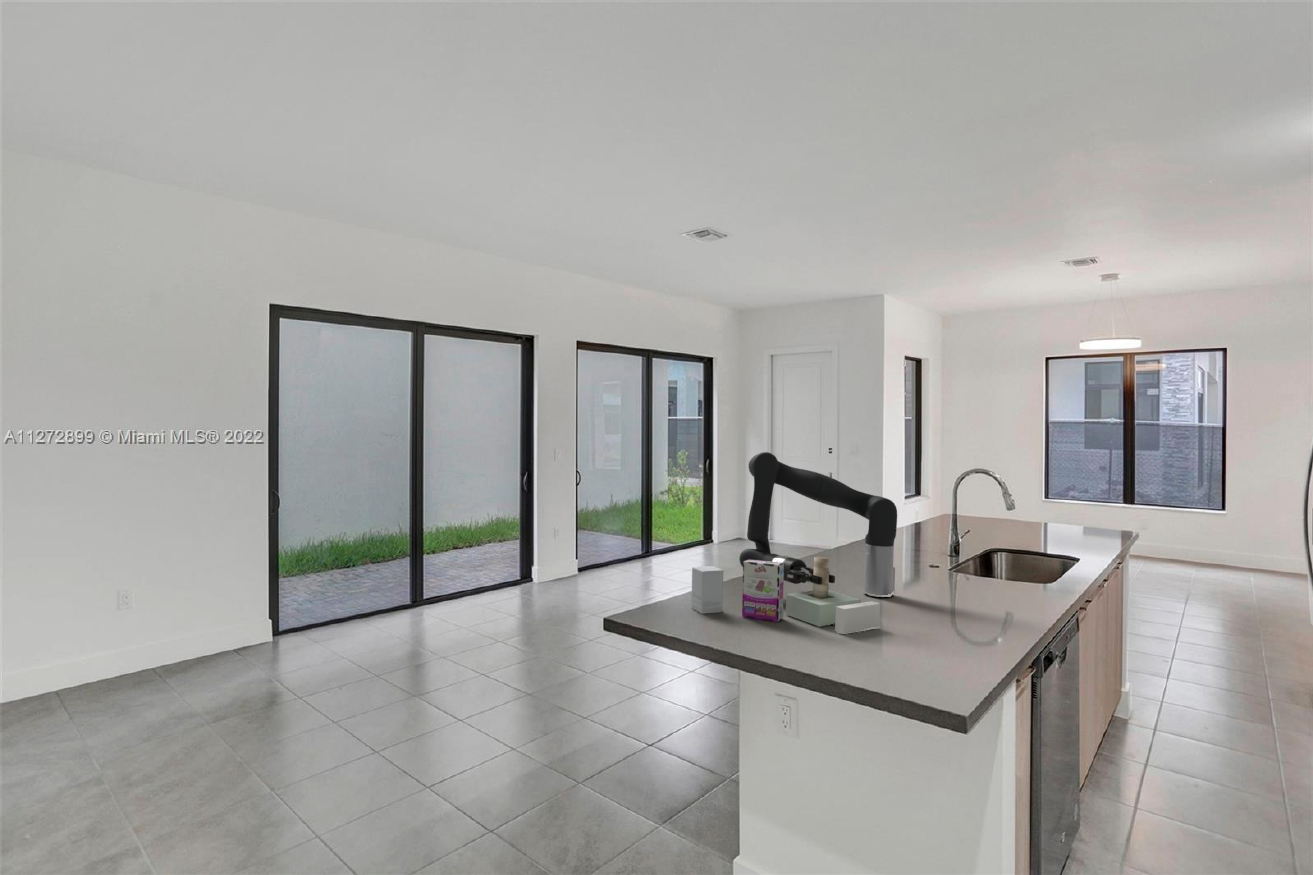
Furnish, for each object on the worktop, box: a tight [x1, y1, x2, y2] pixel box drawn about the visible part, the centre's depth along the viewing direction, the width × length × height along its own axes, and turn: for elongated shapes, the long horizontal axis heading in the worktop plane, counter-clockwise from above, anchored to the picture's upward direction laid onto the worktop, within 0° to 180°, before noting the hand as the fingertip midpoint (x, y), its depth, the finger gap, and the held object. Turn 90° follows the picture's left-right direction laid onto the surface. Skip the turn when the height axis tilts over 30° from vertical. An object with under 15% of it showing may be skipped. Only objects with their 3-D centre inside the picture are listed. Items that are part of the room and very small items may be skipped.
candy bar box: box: [741, 559, 785, 623], centre depth 196 cm, size 11×5×16 cm, turn 62°
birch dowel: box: [812, 556, 830, 599], centre depth 198 cm, size 4×4×14 cm
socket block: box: [785, 589, 862, 628], centre depth 197 cm, size 16×14×6 cm
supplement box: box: [690, 565, 724, 614], centre depth 203 cm, size 7×7×13 cm
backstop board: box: [834, 600, 881, 634], centre depth 186 cm, size 14×3×7 cm, turn 120°
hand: (827, 580), depth 196 cm, fingers closed on birch dowel, 4 cm apart
